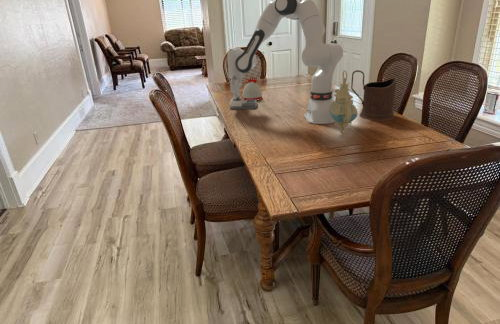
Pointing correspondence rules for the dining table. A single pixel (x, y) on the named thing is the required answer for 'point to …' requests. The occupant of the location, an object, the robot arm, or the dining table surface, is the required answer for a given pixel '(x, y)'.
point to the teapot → (343, 106)
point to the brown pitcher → (377, 99)
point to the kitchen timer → (251, 90)
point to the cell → (238, 96)
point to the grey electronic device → (243, 104)
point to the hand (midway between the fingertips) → (236, 96)
